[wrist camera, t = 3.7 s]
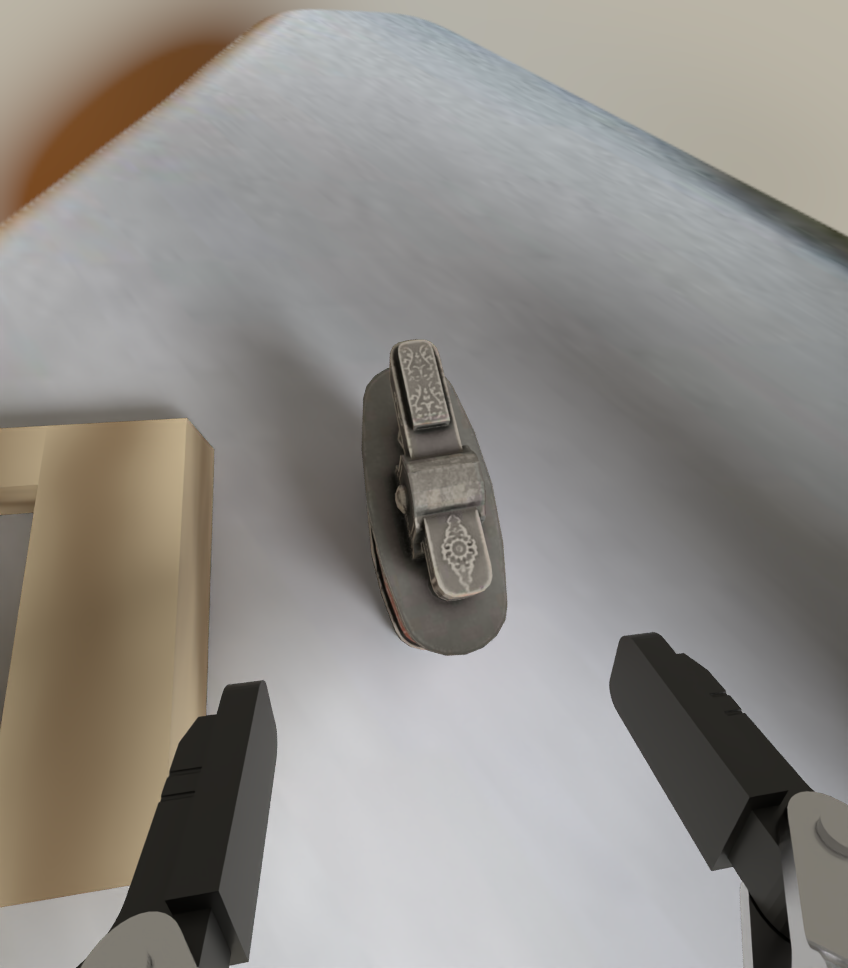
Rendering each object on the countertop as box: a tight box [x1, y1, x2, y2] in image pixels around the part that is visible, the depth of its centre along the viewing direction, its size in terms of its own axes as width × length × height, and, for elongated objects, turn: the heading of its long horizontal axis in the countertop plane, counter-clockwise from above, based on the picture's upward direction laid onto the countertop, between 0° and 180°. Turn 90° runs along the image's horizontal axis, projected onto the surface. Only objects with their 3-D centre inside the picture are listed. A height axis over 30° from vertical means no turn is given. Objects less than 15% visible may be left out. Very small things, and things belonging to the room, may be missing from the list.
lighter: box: [362, 339, 507, 656], centre depth 15 cm, size 8×3×10 cm, turn 11°
